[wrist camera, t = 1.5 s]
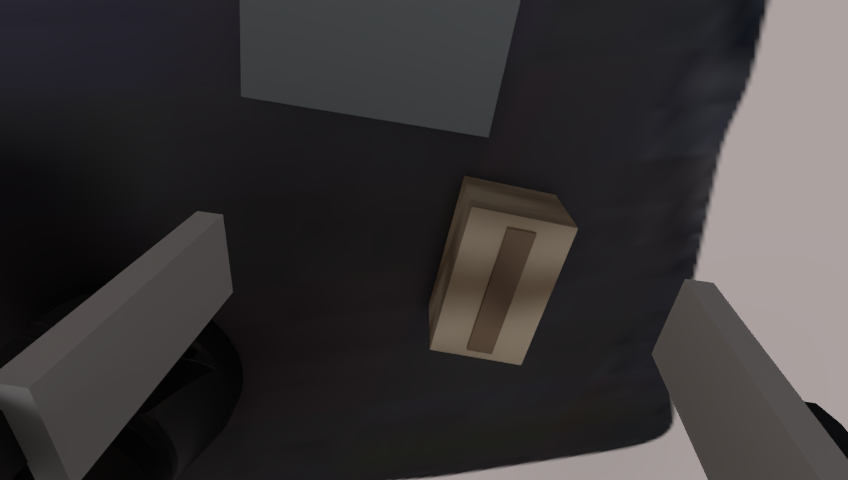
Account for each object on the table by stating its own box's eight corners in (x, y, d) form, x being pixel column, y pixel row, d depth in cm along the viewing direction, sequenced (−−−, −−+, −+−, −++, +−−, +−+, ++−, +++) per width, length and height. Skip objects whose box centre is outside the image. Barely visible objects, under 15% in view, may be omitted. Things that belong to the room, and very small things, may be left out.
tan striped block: (508, 317, 34) (521, 368, 30) (428, 303, 34) (429, 352, 29) (555, 193, 30) (579, 230, 25) (464, 174, 29) (472, 208, 25)
